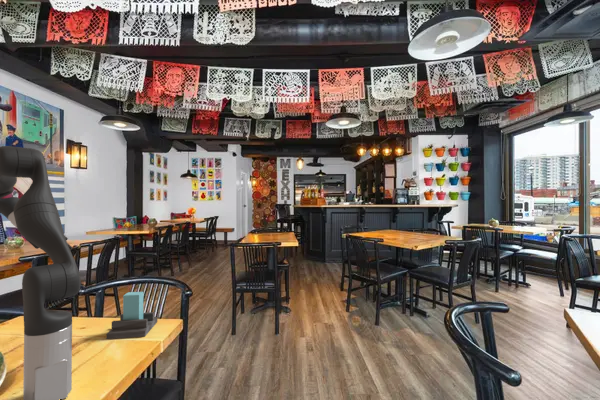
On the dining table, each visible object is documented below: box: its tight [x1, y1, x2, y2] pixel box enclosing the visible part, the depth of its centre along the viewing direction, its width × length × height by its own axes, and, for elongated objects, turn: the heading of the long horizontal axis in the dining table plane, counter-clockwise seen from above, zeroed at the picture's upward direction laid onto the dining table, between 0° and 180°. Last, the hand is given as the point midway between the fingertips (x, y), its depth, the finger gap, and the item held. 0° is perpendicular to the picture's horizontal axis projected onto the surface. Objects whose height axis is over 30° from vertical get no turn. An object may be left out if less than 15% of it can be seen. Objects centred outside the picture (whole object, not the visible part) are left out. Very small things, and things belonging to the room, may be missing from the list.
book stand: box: [106, 311, 158, 340], centre depth 110 cm, size 13×13×5 cm
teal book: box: [122, 291, 144, 320], centre depth 110 cm, size 4×6×12 cm
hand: (62, 251), depth 107 cm, fingers open, 8 cm apart
